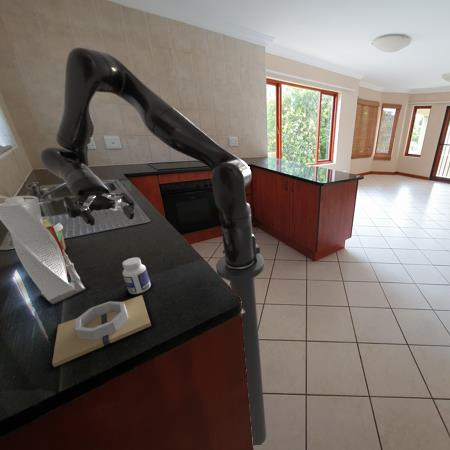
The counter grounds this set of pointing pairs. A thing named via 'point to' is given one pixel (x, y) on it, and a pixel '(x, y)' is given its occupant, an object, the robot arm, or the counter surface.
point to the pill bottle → (135, 276)
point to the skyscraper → (39, 249)
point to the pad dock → (99, 328)
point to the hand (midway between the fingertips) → (113, 219)
